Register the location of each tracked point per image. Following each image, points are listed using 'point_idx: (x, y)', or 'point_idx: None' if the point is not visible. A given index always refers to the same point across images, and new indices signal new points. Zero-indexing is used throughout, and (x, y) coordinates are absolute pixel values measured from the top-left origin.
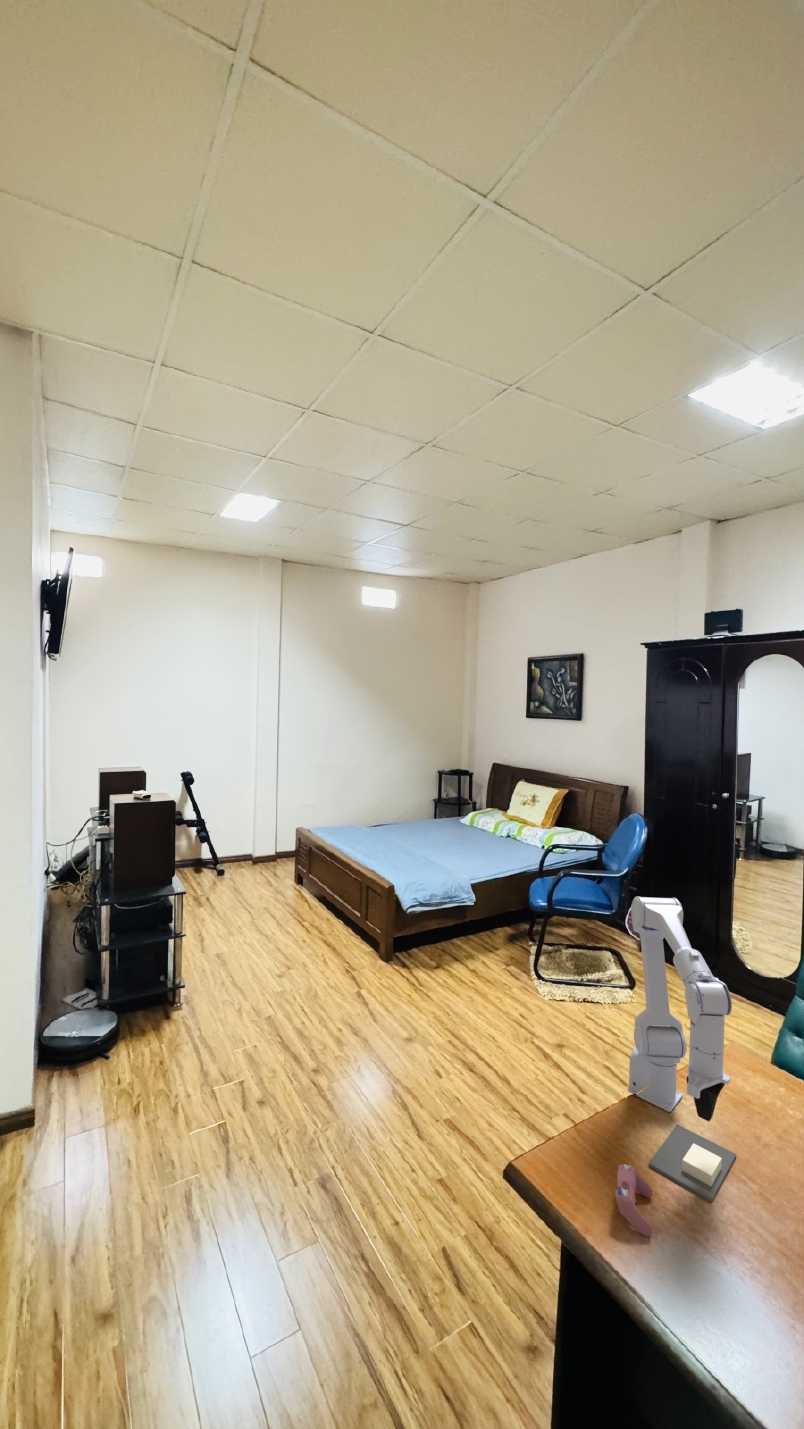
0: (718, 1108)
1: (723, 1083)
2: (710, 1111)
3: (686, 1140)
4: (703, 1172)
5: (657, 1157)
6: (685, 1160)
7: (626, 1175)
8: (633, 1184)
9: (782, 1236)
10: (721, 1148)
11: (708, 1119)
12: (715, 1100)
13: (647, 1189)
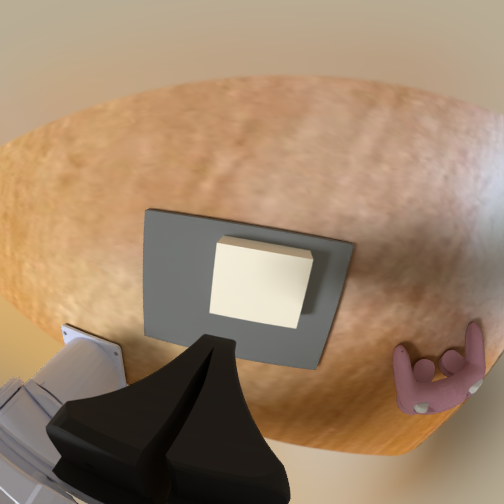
0: (44, 260)
1: (80, 443)
2: (237, 373)
3: (182, 316)
4: (308, 278)
5: (287, 360)
6: (294, 322)
7: (455, 402)
8: (463, 386)
9: (353, 97)
10: (149, 243)
11: (235, 348)
12: (186, 392)
13: (409, 358)
